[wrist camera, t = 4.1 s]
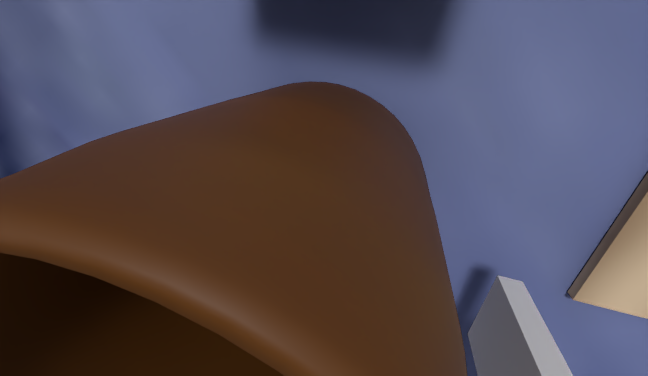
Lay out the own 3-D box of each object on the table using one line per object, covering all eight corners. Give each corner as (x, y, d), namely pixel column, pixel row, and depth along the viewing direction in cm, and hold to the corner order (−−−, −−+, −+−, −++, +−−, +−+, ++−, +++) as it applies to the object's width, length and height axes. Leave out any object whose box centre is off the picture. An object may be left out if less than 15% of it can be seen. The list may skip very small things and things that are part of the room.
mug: (362, 348, 15) (316, 721, 7) (221, 299, 16) (23, 576, 7) (459, 109, 10) (846, 481, 1) (239, 54, 10) (-384, 69, 2)
